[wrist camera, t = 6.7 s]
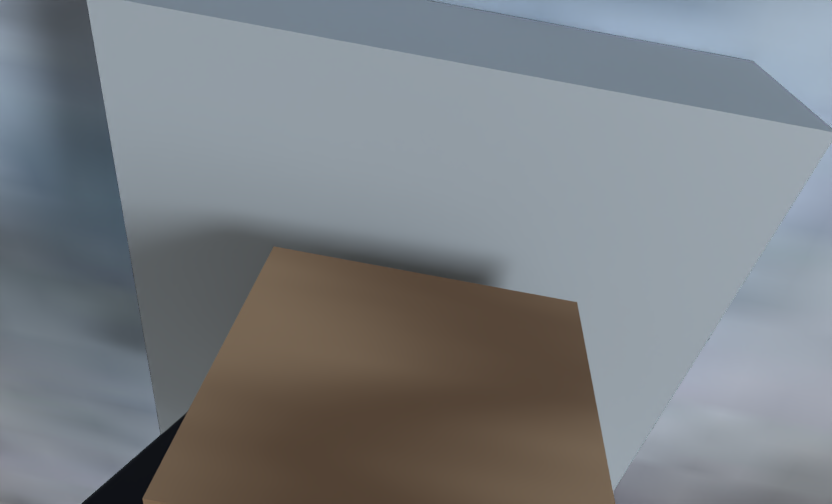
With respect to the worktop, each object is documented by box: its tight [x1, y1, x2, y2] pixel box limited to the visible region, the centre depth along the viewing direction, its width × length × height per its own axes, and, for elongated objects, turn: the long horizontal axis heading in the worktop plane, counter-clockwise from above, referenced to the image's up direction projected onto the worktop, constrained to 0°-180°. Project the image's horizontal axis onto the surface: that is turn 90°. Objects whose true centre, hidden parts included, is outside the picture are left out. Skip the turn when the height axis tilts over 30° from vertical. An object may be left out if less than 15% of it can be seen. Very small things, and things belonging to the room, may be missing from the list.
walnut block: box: [142, 246, 615, 504], centre depth 8 cm, size 4×4×4 cm
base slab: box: [87, 0, 832, 491], centre depth 12 cm, size 10×10×3 cm
